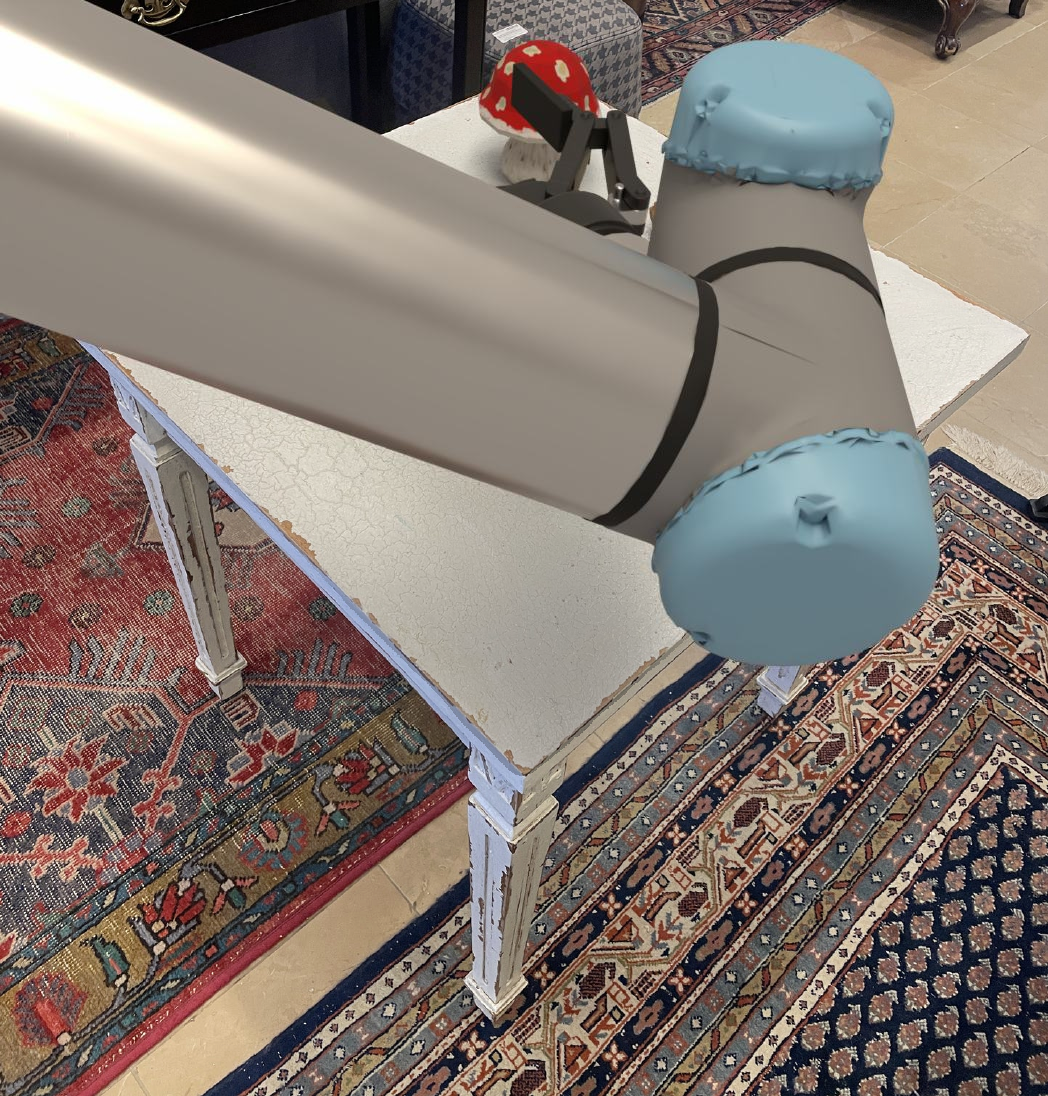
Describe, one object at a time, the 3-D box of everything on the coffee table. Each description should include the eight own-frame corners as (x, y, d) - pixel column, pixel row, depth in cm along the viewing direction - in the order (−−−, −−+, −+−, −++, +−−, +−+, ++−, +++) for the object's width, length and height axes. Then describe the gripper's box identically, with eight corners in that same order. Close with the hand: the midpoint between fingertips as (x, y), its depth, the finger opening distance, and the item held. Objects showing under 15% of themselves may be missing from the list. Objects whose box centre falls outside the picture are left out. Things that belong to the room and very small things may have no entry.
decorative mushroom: (488, 138, 116) (493, 6, 105) (601, 156, 116) (619, 26, 104) (462, 199, 108) (464, 63, 96) (583, 220, 107) (601, 86, 95)
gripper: (370, 413, 48) (238, 195, 59) (764, 294, 57) (584, 123, 68) (360, 289, 42) (216, 73, 54) (801, 178, 51) (597, 11, 62)
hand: (421, 100), depth 61 cm, fingers open, 13 cm apart
